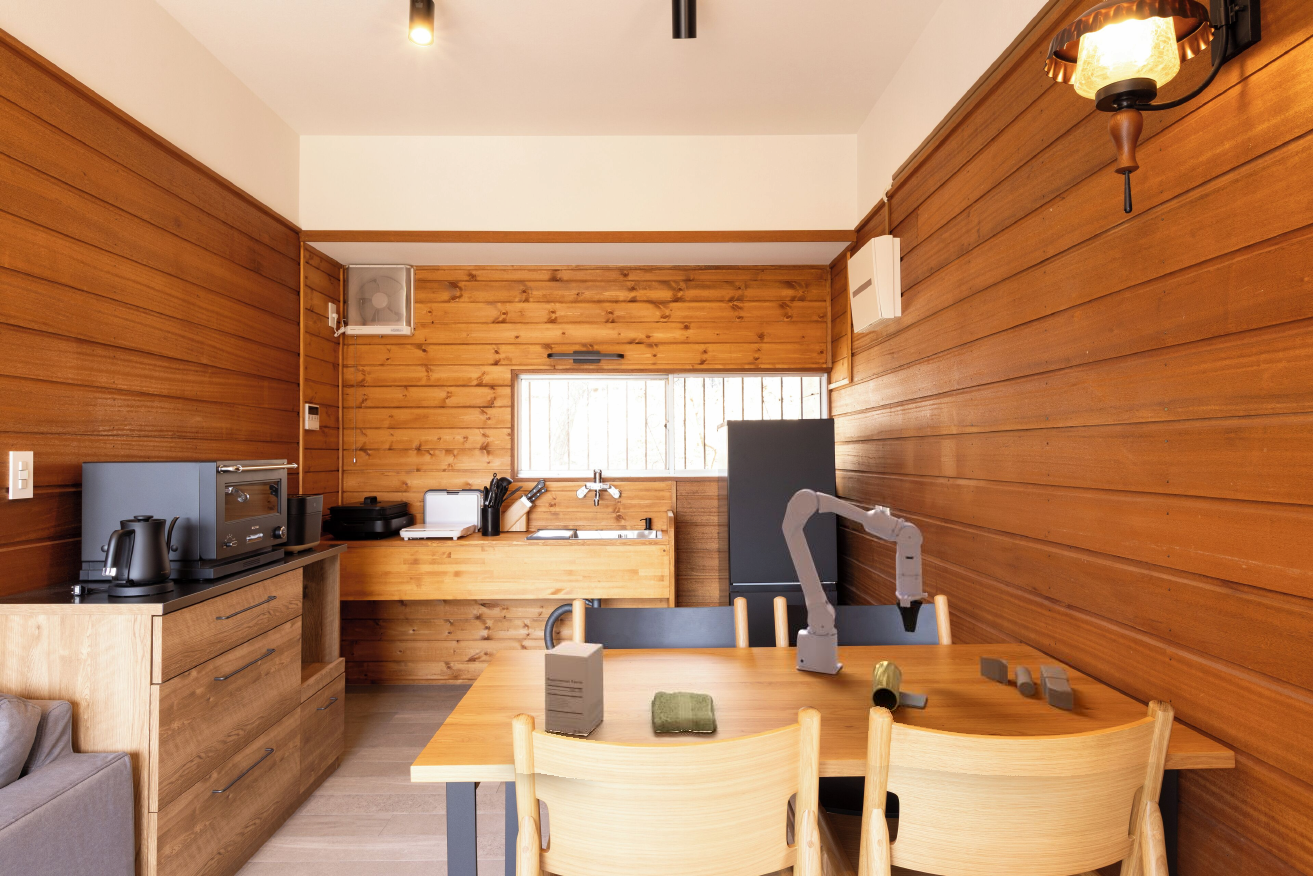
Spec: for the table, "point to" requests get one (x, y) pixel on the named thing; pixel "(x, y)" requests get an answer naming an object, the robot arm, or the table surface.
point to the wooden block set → (1051, 681)
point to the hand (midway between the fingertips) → (910, 631)
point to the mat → (912, 699)
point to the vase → (886, 685)
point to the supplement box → (574, 687)
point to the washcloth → (683, 712)
